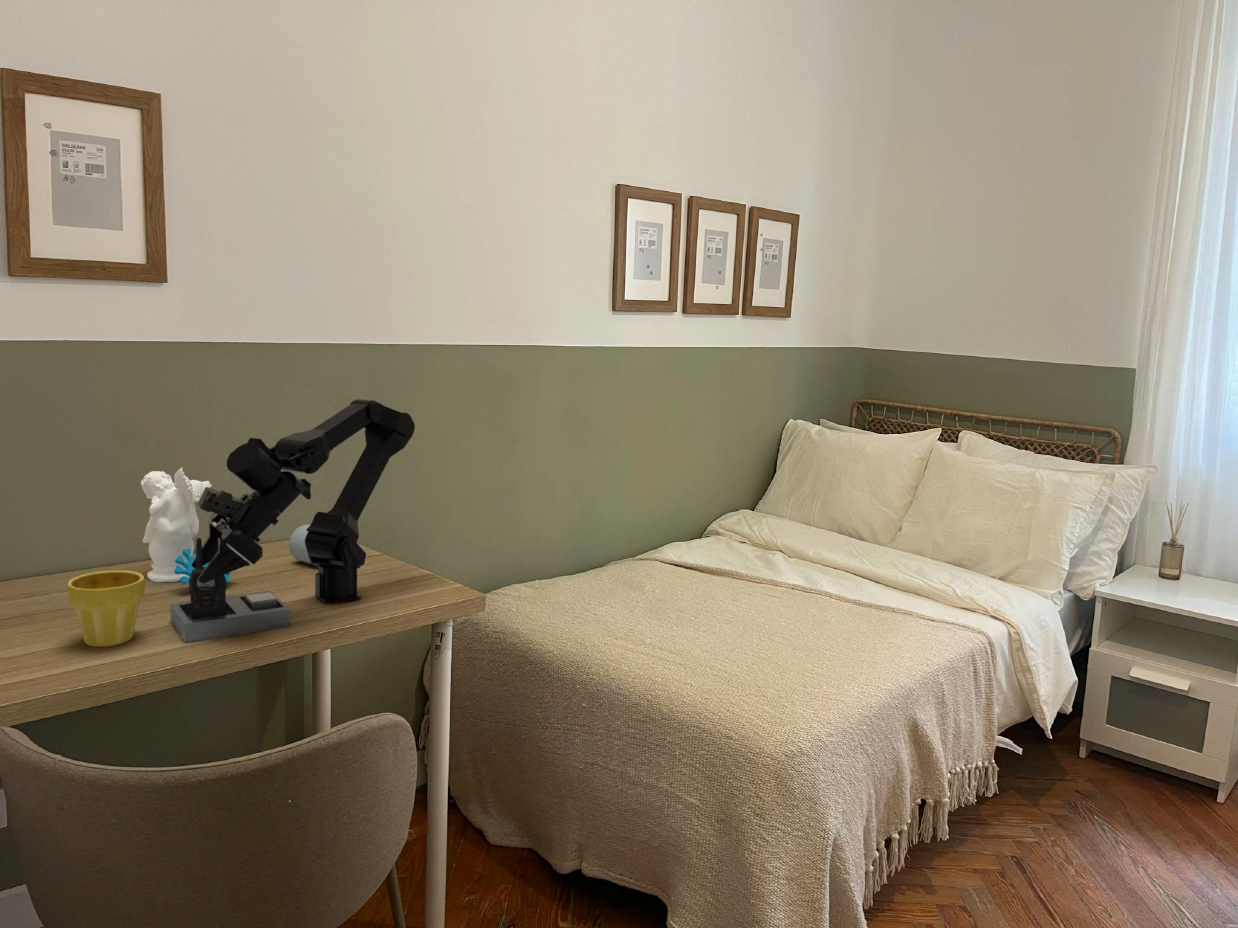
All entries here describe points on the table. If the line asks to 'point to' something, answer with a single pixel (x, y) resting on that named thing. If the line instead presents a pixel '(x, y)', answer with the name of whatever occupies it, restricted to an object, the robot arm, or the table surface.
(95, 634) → the plant pot
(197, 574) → the two-way radio
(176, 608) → the grey charging dock
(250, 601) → the steel block
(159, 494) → the cherub figurine
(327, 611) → the table surface
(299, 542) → the ceramic mug
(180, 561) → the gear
